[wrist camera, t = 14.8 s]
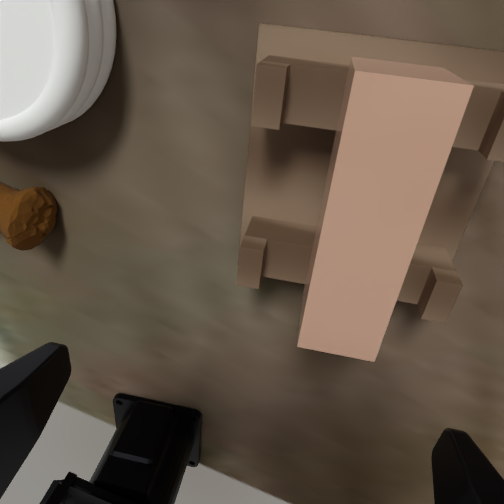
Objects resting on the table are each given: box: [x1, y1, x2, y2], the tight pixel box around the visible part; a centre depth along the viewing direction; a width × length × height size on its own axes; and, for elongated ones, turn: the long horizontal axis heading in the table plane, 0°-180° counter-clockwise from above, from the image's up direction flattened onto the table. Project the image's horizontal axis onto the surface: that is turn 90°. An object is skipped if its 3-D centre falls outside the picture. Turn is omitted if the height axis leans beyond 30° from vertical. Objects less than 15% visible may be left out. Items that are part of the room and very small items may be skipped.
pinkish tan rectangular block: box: [297, 57, 474, 362], centre depth 15 cm, size 10×3×4 cm, turn 175°
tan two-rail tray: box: [237, 23, 504, 323], centre depth 17 cm, size 11×10×4 cm
